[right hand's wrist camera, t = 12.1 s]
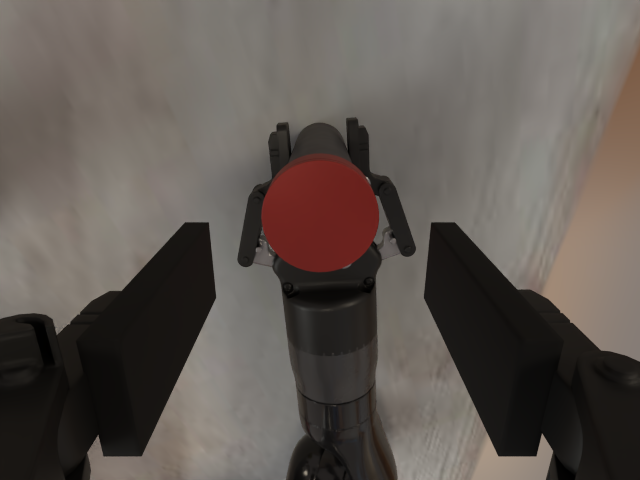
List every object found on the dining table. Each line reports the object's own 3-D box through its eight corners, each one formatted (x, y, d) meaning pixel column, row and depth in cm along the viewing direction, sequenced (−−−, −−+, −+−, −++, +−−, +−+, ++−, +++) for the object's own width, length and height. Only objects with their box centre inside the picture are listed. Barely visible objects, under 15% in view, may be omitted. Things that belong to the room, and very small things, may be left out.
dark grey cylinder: (336, 178, 37) (351, 269, 20) (289, 164, 37) (262, 246, 19) (350, 131, 36) (381, 184, 18) (302, 116, 35) (286, 156, 18)
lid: (354, 268, 21) (357, 284, 19) (254, 241, 20) (249, 255, 19) (389, 171, 19) (395, 180, 18) (281, 139, 19) (277, 145, 17)
